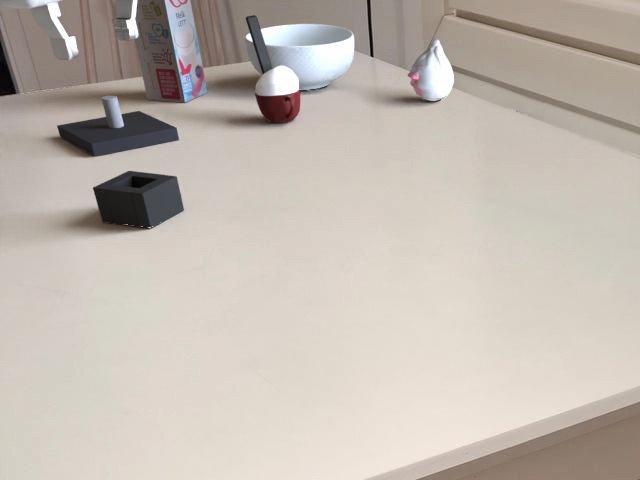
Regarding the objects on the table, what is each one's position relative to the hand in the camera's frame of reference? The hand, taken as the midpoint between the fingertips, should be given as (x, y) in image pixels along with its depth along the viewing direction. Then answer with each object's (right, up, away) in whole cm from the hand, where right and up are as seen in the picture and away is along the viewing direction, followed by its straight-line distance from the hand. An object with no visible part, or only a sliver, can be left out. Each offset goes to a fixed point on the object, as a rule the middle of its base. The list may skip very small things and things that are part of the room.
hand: (99, 48), depth 90 cm
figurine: (+30, +24, +49) cm, 62 cm away
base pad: (-12, +10, +35) cm, 38 cm away
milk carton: (-10, +26, +52) cm, 59 cm away
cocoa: (+9, +17, +41) cm, 46 cm away
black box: (0, -11, +11) cm, 16 cm away
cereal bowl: (+9, +31, +57) cm, 66 cm away
